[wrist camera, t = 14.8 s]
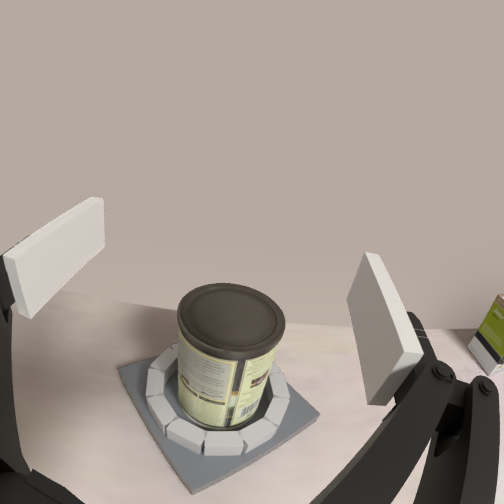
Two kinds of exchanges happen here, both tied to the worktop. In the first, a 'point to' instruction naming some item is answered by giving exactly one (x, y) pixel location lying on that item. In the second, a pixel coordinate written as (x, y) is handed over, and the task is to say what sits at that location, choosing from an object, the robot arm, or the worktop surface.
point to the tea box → (490, 339)
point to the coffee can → (225, 353)
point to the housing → (207, 440)
